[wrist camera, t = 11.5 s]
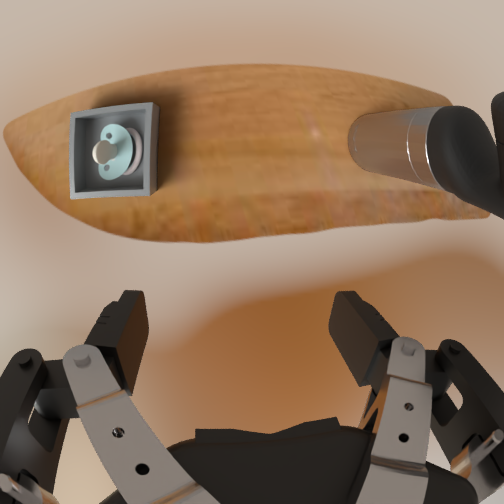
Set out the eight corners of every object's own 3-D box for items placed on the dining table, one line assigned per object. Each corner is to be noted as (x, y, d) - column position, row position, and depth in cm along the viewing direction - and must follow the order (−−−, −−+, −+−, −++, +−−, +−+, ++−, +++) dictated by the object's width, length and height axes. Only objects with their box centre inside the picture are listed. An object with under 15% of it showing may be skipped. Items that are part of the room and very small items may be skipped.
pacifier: (146, 124, 31) (105, 125, 30) (134, 120, 25) (87, 122, 24) (141, 178, 34) (101, 177, 32) (129, 184, 28) (83, 183, 27)
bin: (160, 107, 31) (152, 102, 27) (157, 190, 35) (149, 195, 31) (85, 115, 30) (70, 112, 25) (84, 193, 34) (70, 199, 30)
